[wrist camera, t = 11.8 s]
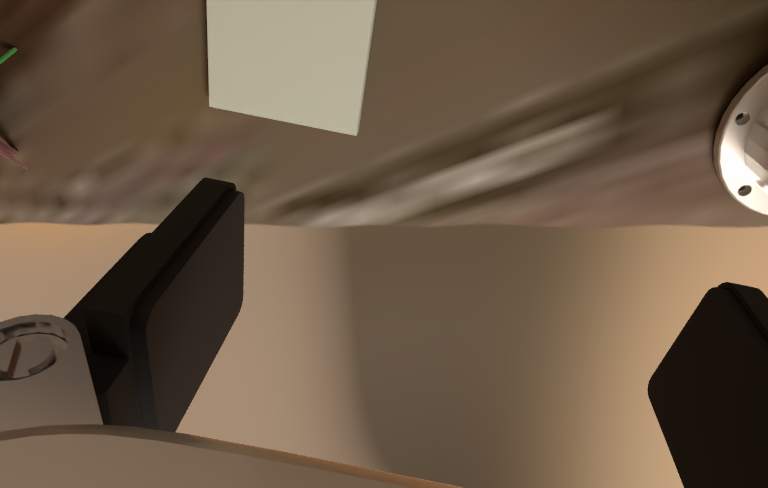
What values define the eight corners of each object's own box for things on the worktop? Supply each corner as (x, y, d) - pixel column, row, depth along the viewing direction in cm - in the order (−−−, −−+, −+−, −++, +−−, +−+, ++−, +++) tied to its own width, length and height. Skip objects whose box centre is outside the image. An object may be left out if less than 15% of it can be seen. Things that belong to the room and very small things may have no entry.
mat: (381, -33, 33) (379, -32, 32) (358, 130, 39) (356, 135, 38) (211, -67, 33) (204, -66, 32) (214, 102, 39) (209, 106, 38)
